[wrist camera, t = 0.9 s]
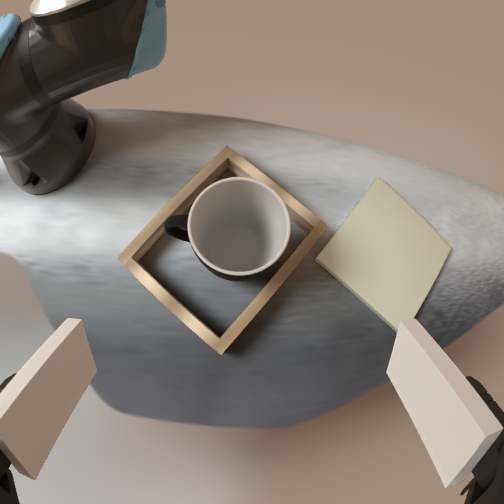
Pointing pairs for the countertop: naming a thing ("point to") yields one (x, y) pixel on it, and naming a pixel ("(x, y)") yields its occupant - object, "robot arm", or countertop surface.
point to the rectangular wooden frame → (180, 205)
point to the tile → (385, 254)
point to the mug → (235, 228)
